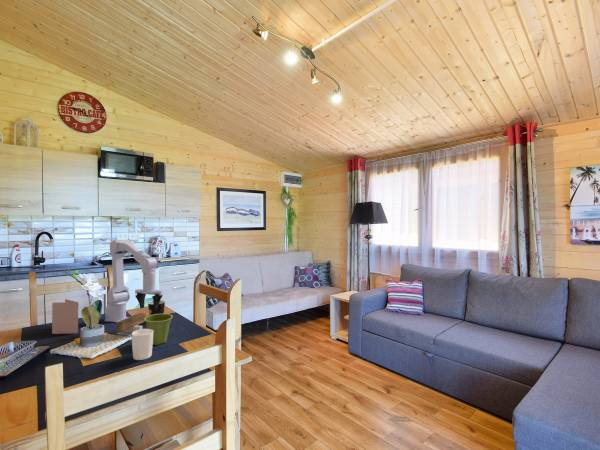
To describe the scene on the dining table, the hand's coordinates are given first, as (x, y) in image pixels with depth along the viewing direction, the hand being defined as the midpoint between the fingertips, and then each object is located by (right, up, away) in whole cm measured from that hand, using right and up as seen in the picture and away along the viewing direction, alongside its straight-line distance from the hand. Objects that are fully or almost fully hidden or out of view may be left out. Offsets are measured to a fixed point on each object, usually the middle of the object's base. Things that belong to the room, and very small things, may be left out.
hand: (148, 308), depth 161 cm
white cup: (+12, -11, -32) cm, 36 cm away
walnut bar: (-6, -7, -5) cm, 11 cm away
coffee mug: (-2, -10, +13) cm, 17 cm away
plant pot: (+12, -11, -16) cm, 23 cm away
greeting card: (-37, -10, -7) cm, 39 cm away
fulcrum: (-6, -10, -5) cm, 13 cm away
